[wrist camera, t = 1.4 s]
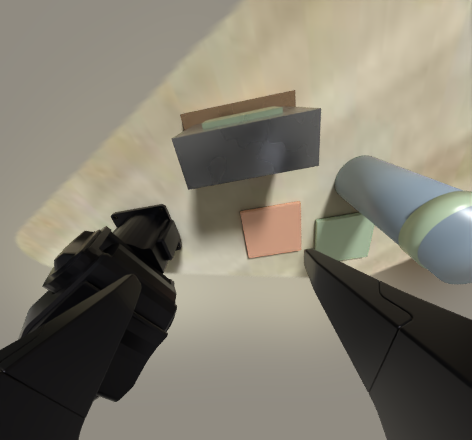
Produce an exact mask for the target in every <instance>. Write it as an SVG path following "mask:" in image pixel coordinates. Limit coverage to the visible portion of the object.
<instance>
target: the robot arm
mask: <svg viewBox="0 0 472 440" xmlns="http://www.w3.org/2000/svg"><path fill="white" fill-rule="evenodd" d="M160 208H163V210H161V209H160ZM115 216H117V217H118V218H116V217H115ZM111 218H112V220H113V222H114V223H115V225H116V227H117V228H116V229H115V230H114V231H113V233H112V232H111V229H109V228H108V227H107V226H106V227H104V228H103V229H102V230H97V231H96V232H90V231H84V232H83V233H81V234H80V235H79V236H78V237H77V238H75V239H74V240H73V241H72V242H71V243H70V244H69V245H68V246H67V247H65V248H64V250H63V251H62V252H61V253H60V254H59V255H58V256H57V257H56V259H55V260H54V267H53V268H52V270H51V272H50V274H49V275H48V277H47V279H46V280H45V282H44V284H43V287H44V288H46V289H47V290H48V291H47V292H46V293H45V294H44V295H43V296H42V297H41V298H40V299H39V300H38V301H37V302H36V303H35V304H34V305H33V306H32V307H31V308H30V309H29V311H28V313H27V316H26V319H25V322H24V324H23V327H22V330H21V333H20V336H19V338H18V340H17V341H15V342H13V343H12V344H10V345H8V346H6V347H5V348H3V349H1V350H0V440H79V435H80V431H81V428H82V425H83V423H84V420H85V418H86V416H87V414H88V411H89V409H90V407H91V405H92V402H93V401H94V400H96V399H97V398H99V397H103V398H105V399H109V400H111V401H114V402H117V401H118V400H120V399H121V398H122V397H123V396H124V395H125V394H126V393H127V392H128V391H129V390H130V389H131V388H132V387H133V386H134V384H135V382H136V380H137V378H138V376H139V375H140V373H141V371H142V369H143V368H144V366H145V364H146V362H147V361H148V359H149V358H150V356H151V355H152V354H153V352H154V351H155V350H156V348H157V347H158V346H159V345H160V344H161V342H163V340H164V339H165V338H166V337H167V335H168V333H167V330H168V329H169V327H170V326H171V324H172V321H173V319H174V316H175V313H176V310H177V305H176V304H175V299H176V291H175V288H174V282H173V281H172V280H171V279H168V278H167V277H166V276H165V275H163V273H164V270H165V268H166V265H167V263H168V260H172V258H173V256H174V253H175V251H176V250H180V249H181V247H182V244H181V242H180V235H179V233H178V230H177V228H176V225H175V223H174V221H173V220H171V217H170V215H169V212H168V210H167V208H166V206H165V205H163V204H160V205H154V206H149V207H143V208H137V209H132V210H126V211H121V212H115V213H113V214H112V215H111ZM177 246H179V247H177ZM304 265H305V268H306V271H307V273H308V276H309V278H310V281H311V284H312V286H313V289H314V291H315V293H316V295H317V297H318V299H319V301H320V303H321V305H322V307H323V308H324V310H325V312H326V314H327V316H328V318H329V320H330V321H331V323H332V325H333V327H334V329H335V331H336V333H337V334H338V337H339V338H340V340H341V342H342V344H343V346H344V348H345V350H346V351H347V354H348V355H349V357H350V359H351V361H352V363H353V365H354V367H355V368H356V370H357V372H358V374H359V376H360V378H361V380H362V382H363V384H364V386H365V387H366V389H367V391H368V392H369V395H370V397H371V399H372V401H373V403H374V405H375V407H376V410H377V412H378V415H379V418H380V421H381V423H382V426H383V429H384V432H385V435H386V438H387V440H472V320H471V319H468V318H466V317H463V316H461V315H458V314H456V313H454V312H451V311H449V310H446V309H444V308H441V307H439V306H436V305H434V304H432V303H429V302H427V301H424V300H422V299H419V298H417V297H415V296H412V295H410V294H408V293H405V292H403V291H401V290H398V289H397V288H394V287H392V286H390V285H388V284H386V283H384V282H382V281H379V280H377V279H375V278H373V277H371V276H369V275H367V274H365V273H362V272H360V271H358V270H356V269H354V268H352V267H350V266H348V265H346V264H344V263H342V262H340V261H338V260H335V259H333V258H331V257H329V256H327V255H325V254H323V253H321V252H319V251H317V250H315V249H306V250H305V251H304Z"/></svg>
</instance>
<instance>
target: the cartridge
mask: <svg viewBox="0 0 472 440" xmlns="http://www.w3.org/2000/svg"><path fill="white" fill-rule="evenodd" d="M335 189H336V191H337V193H338V194H339V195H340V196H341V197H342V198H343V199H344V200H346V201H347V202H348V203H349V204H350V205H352V206H353V207H354V208H355V209H356V210H358V211H359V212H360V213H361V214H362V215H363V216H365V217H366V218H367V219H368V220H369V221H371V222H372V223H373V224H374V225H375V226H377V227H378V228H379V229H380V230H381V231H383V232H384V233H385V234H386V235H387V236H389V237H390V238H391V239H392V240H393V241H394V242H396V243H397V244H398V245H399V246H400V247H401V249H402V250H403V251H404V252H405V253H406V254H408V255H409V256H410V257H411V258H412V259H414V260H415V261H416V262H417V263H418V264H419V265H421V266H422V267H424V268H426V269H428V270H429V271H430V272H431V273H433V274H434V275H435V276H436V277H437V278H439V279H440V280H441V281H443V282H445V283H449V284H467V283H472V192H470V191H463V190H460V189H458V188H455V187H452V186H450V185H447V184H444V183H442V182H439V181H436V180H434V179H431V178H428V177H426V176H423V175H420V174H418V173H415V172H412V171H410V170H407V169H404V168H402V167H399V166H396V165H394V164H391V163H388V162H386V161H383V160H380V159H378V158H375V157H372V156H359V157H356V158H354V159H352V160H350V161H349V162H347V163H346V164H345V165H344V166H343V167H342V168H341V169H340V171H339V172H338V174H337V177H336V180H335Z"/></svg>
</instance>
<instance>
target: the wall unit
mask: <svg viewBox="0 0 472 440" xmlns="http://www.w3.org/2000/svg"><path fill="white" fill-rule="evenodd" d="M180 116H181V120H182V123H183V127H184V130H185V131H183V132H182V133H180V134H178V135H177V136H175V137H174V138H172V142H173V145H174V148H175V151H176V154H177V157H178V160H179V163H180V166H181V169H182V172H183V175H184V178H185V181H186V184H187V187H188V190H189V189H195V188H200V187H206V186H211V185H216V184H222V183H227V182H233V181H238V180H244V179H249V178H254V177H260V176H265V175H271V174H276V173H282V172H287V171H293V170H298V169H303V168H309V167H314V166H319V147H320V121H321V108H306V107H295V90H293V91H289V92H284V93H279V94H274V95H270V96H265V97H260V98H256V99H251V100H246V101H241V102H237V103H232V104H227V105H222V106H218V107H213V108H208V109H203V110H199V111H194V112H189V113H185V114H180Z"/></svg>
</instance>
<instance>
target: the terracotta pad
mask: <svg viewBox="0 0 472 440" xmlns="http://www.w3.org/2000/svg"><path fill="white" fill-rule="evenodd" d="M240 215H241V220H242V225H243V230H244V235H245V240H246V245H247V251H248V256H249V258H254V257H260V256H266V255H273V254H279V253H286V252H292V251H299V250H301V203H300V202H299V201H297V202H291V203H285V204H279V205H273V206H268V207H262V208H256V209H250V210H245V211H240Z"/></svg>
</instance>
